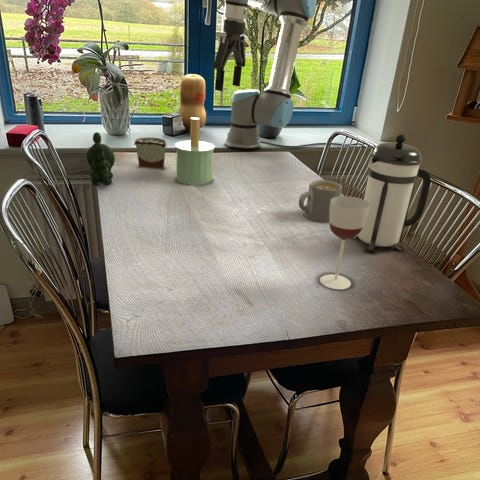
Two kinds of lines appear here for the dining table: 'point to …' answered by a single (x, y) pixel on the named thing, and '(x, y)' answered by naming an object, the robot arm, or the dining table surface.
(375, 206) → the coffee press
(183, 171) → the canister
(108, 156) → the toy figurine
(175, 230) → the dining table surface
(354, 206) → the wineglass
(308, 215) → the coffee mug
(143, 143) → the food container
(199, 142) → the lid
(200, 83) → the butternut squash
